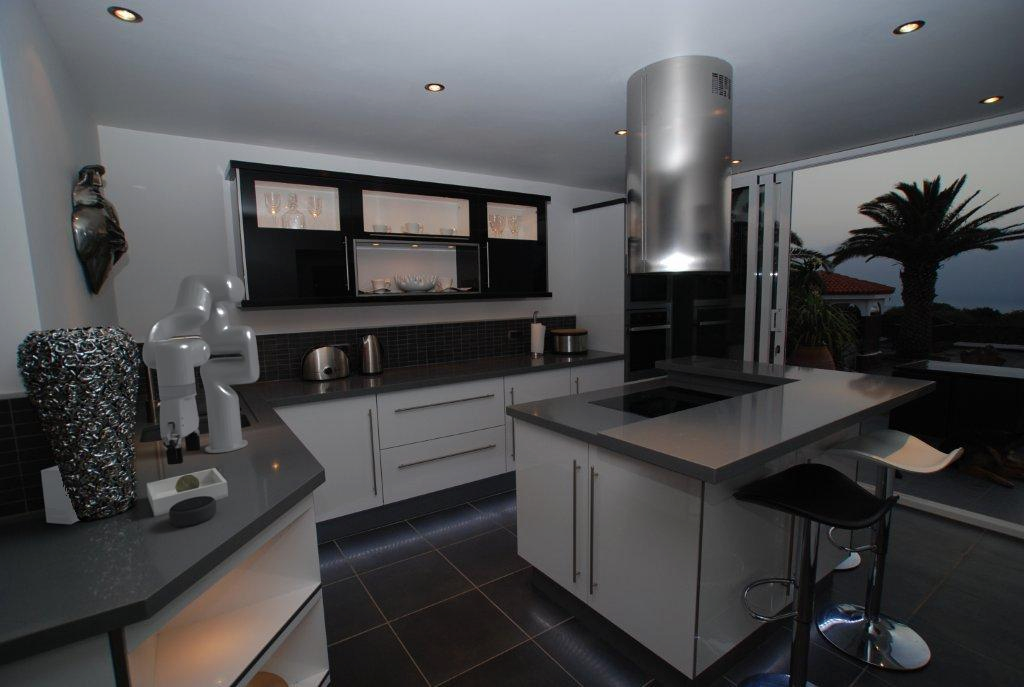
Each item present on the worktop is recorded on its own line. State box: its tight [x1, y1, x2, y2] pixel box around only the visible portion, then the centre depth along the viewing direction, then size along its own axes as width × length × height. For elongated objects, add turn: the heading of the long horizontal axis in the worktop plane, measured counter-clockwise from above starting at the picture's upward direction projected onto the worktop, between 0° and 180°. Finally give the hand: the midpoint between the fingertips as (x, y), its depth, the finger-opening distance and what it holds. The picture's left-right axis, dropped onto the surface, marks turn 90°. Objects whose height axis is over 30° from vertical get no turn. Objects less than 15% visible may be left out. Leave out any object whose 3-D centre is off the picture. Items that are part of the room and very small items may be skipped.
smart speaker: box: [168, 496, 218, 528], centre depth 106 cm, size 9×9×4 cm
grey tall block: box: [40, 465, 80, 525], centre depth 109 cm, size 7×7×13 cm
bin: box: [146, 467, 229, 517], centre depth 118 cm, size 15×15×4 cm
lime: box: [175, 474, 199, 493], centre depth 118 cm, size 4×5×5 cm
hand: (184, 456), depth 118 cm, fingers open, 9 cm apart
